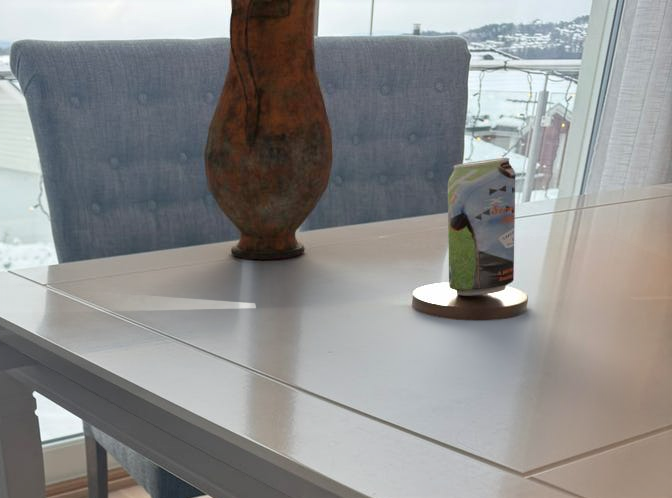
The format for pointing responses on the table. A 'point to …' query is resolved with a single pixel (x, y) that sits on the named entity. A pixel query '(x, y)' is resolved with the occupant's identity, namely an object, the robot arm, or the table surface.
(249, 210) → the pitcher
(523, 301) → the walnut puck
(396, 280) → the table surface
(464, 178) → the beverage can
